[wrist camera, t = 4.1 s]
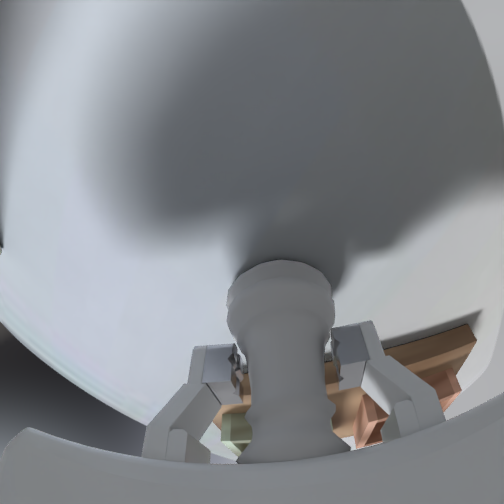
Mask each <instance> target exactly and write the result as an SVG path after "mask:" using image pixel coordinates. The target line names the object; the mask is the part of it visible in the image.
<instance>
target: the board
mask: <svg viewBox="0 0 504 504" xmlns="http://www.w3.org/2000/svg"><path fill="white" fill-rule="evenodd" d="M476 342H477V339H476V338H475V336H474V334H473V332H472V330H471V329H470V327H469V325H468V324H466V325H463V326H460V327H458V328H455V329H452V330H449V331H446V332H443V333H440V334H437V335H434V336H431V337H428V338H424V339H421V340H418V341H414V342H411V343H407V344H404V345H400V346H397V347H393V348H389V349H385V350H383V351H384V353H385V356H391V357H392V358H394V359H395V360H396V361H398V362H399V363H400V364H402V365H403V366H404V367H406V368H407V369H408V370H410V371H411V372H412V373H414V374H415V375H416V376H418V377H419V378H421V379H422V380H423V381H425V382H426V383H427V384H429V385H430V386H431V387H433V388H434V389H435V391H436V393H437V396H438V399H439V402H440V405H441V407H442V410H443V412H444V411H445V410H446V409H447V408H448V407H449V406H450V404H451V403H452V402H453V401H454V400H455V398H456V397H457V396H458V395H459V394H460V392H461V391H462V390H461V387H460V385H459V383H458V380H457V378H456V374H457V373H458V371H459V370H460V368H461V366H462V365H463V363H464V362H465V360H466V359H467V357H468V355H469V354H470V352H471V350H472V348H473V347H474V345H475V343H476ZM324 367H325V385H326V391H327V397H328V399H329V400H330V401H331V402H333V403H334V404H335V405H336V412H335V413H334V415H333V416H332V418H331V419H330V424H331V427H332V431H333V432H334V433H335V434H336V435H337V436H338V437H340V438H344V437H349V436H354V438H355V444H356V449H357V448H361V447H365V446H369V445H373V444H377V443H381V442H383V440H382V435H381V431H380V430H381V428H382V427H383V425H384V423H385V422H386V420H387V418H388V416H389V415H388V414H387V413H386V412H385V411H384V410H383V409H382V408H381V407H380V406H379V405H378V404H377V403H376V402H375V401H374V400H373V399H372V398H371V397H370V396H369V395H368V394H367V393H366V392H365V391H364V390H363V389H362V388H361V386H359V387H355V388H349V389H344V390H338V385H337V380H336V376H335V375H336V367H335V366H333V361H331V362H326V363H324ZM241 384H242V386H243V388H244V396H243V403H242V404H230V405H221V406H222V407H221V408H220V410H219V412H218V413H217V415H216V416H215V418H214V419H213V423H214V424H215V425H216V426H217V427H218V428H219V429H220V430H221V442H222V443H223V444H224V445H226V446H227V447H228V448H229V449H230V450H231V451H232V452H233V453H234V454H236V455H237V456H238V457H239V456H240V455H241V453H242V452H243V451H244V450H245V449H246V447H247V446H248V445H249V444H250V442H251V441H252V436H253V432H252V426H251V425H250V424H249V423H248V422H247V421H246V419H245V418H244V417H245V415H246V412H247V411H248V410H249V408H250V407H251V387H250V380H249V374H248V373H247V374H244V379H243V380H242V381H241Z"/></svg>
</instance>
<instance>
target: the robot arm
mask: <svg viewBox="0 0 504 504" xmlns="http://www.w3.org/2000/svg"><path fill="white" fill-rule="evenodd" d="M331 339H332V341H331V356H332V361H333V366H335V367H336V375H335V376H336V380H337V385H338V390H344V389H349V388H355V387H359V386H361V388H362V389H363V390H364V391H365V392H366V393H367V394H368V395H369V396H370V397H371V398H372V399H373V400H374V401H375V402H376V403H377V404H378V405H379V406H380V407H381V408H382V409H383V410H384V411H385V412H386V413H387V414H388V415H389V416H388V418H387V420H386V422H385V423H384V425H383V427H382V428H381V430H380V431H381V435H382V440H383V443H381V444H377V445H373V446H369V447H365V448H361V449H357V450H353V451H348V452H343V453H338V454H333V455H327V456H321V457H315V458H308V459H301V460H292V461H282V462H270V463H253V464H210V452H211V451H210V450H209V449H208V448H207V447H205V446H204V445H203V444H201V443H200V442H199V440H200V439H201V437H202V436H203V434H204V433H205V431H206V430H207V428H208V427H209V425H210V424H211V422H212V421H213V419H214V418H215V416H216V415H217V413H218V412H219V410H220V408H221V407H222V406H221V405H230V404H242V403H243V396H244V388H243V386H242V384H241V381H242V380H243V379H244V369H243V362H242V359H241V356H240V355H239V354H237V347H236V345H235V343H234V344H221V345H207V346H195V347H194V349H193V351H192V357H191V364H190V370H189V377H188V383H187V384H183V385H182V387H181V388H180V389H179V390H178V391H177V392H176V394H175V395H174V396H173V397H172V398H171V399H170V400H169V402H168V403H167V404H166V405H165V406H164V407H163V408H162V410H161V411H160V412H159V413H158V414H157V415H156V416H155V418H154V419H153V420H152V421H151V422H150V423H149V424H148V425H147V429H146V434H145V440H144V445H143V451H142V457H136V456H130V455H125V454H120V453H115V452H110V451H106V450H101V449H97V448H93V447H89V446H85V445H82V444H78V443H75V442H71V441H68V440H64V439H62V438H58V437H56V436H53V435H50V434H47V433H44V432H41V431H38V430H36V429H34V428H25V429H24V430H22V431H21V432H20V433H19V434H18V435H16V437H14V438H13V439H12V440H11V441H10V442H9V443H8V444H7V446H6V448H5V450H4V452H3V454H2V457H1V460H0V504H504V392H503V393H501V394H499V395H497V396H496V397H494V398H492V399H490V400H488V401H487V402H485V403H483V404H481V405H479V406H477V407H475V408H473V409H471V410H469V411H467V412H465V413H462V414H460V415H458V416H456V417H454V418H451V419H449V420H447V421H446V419H445V416H444V413H443V410H442V407H441V405H440V402H439V399H438V396H437V393H436V391H435V389H434V388H433V387H431V386H430V385H429V384H427V383H426V382H425V381H423V380H422V379H421V378H419V377H418V376H416V375H415V374H414V373H412V372H411V371H410V370H408V369H407V368H406V367H404V366H403V365H402V364H400V363H399V362H398V361H396V360H395V359H394V358H392V357H391V356H385V353H384V351H383V348H382V345H381V342H380V340H379V337H378V334H377V332H376V329H375V326H374V324H373V322H372V321H371V320H369V321H365V322H361V323H354V324H350V325H345V326H341V327H336V328H331Z"/></svg>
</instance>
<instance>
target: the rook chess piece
mask: <svg viewBox="0 0 504 504" xmlns="http://www.w3.org/2000/svg"><path fill="white" fill-rule="evenodd" d="M226 306H227V308H228V315H227V323H228V327H229V329H230V331H231V334H232V336H233V338H234V340H235V341H236V342H237V344H238V346H239V348H240V350H241V352H242V353H243V354H244V355H245V357H246V362H247V368H248V374H249V380H250V387H251V407H250V408H249V410H248V411H247V412H246V415H245V417H244V418H245V419H246V421H247V422H248V423H249V424H250V425H251V426H252V432H253V436H252V441H251V442H250V444H249V445H248V446H247V447H246V449H245V450H244V451H243V452H242V453H241V455H240V456H239V457H238V459H237V461H236V462H237V463H238V464H253V463H270V462H282V461H292V460H301V459H308V458H315V457H321V456H327V455H333V454H338V453H343V452H348V451H350V450H351V447H350V446H349V445H348V444H347V443H345V442H344V441H343V440H342V439H341V438H340V437H338V436H337V435H336V434H335V433H334V432H333V431H332V427H331V424H330V419H331V418H332V416H333V415H334V413H335V412H336V405H335V404H334V403H333V402H331V401H330V400H329V399H328V397H327V391H326V385H325V367H324V352H325V345H326V344H327V342H328V340H329V338H330V333H329V332H330V330H331V328H332V326H333V325H334V321H335V307H334V300H333V299H332V290H331V285H330V283H329V282H328V280H327V279H326V278H325V276H324V275H323V273H322V272H321V271H319V270H317V269H315V268H313V267H311V266H309V265H307V264H305V263H303V262H297V261H289V260H281V259H280V260H275V261H270V262H265V263H260V264H258V265H256V266H255V267H253V268H251V269H250V270H248V271H246V272H244V273H243V274H241V275H239V276H238V278H237V279H236V280H235V282H234V283H233V284H232V286H231V287H230V288H229V290H228V296H227V304H226Z"/></svg>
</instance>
